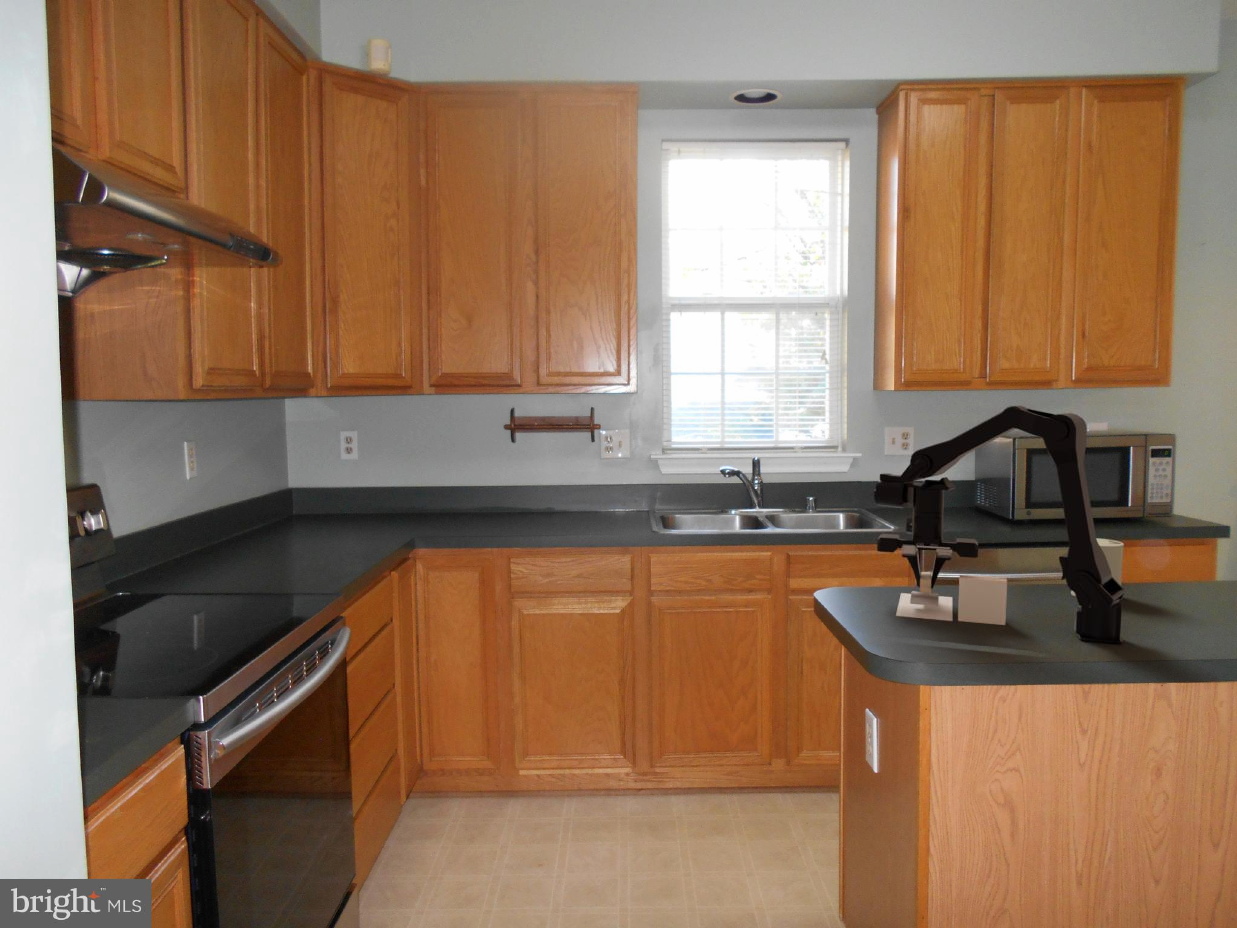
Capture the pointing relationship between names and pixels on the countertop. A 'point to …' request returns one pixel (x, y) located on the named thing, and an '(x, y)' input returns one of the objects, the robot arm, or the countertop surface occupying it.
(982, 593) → the tile
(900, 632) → the countertop surface
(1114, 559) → the can
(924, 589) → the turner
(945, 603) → the board
